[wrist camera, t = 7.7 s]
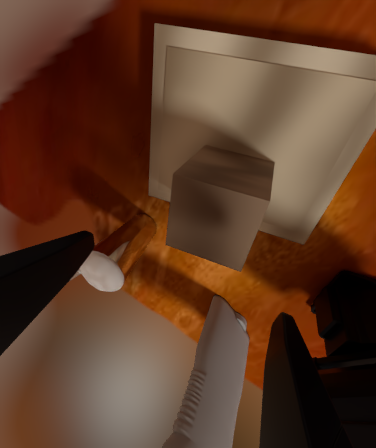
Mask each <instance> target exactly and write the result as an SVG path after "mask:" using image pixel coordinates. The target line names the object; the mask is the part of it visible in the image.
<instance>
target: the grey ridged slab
mask: <svg viewBox="0 0 376 448" xmlns="http://www.w3.org/2000/svg"><path fill="white" fill-rule="evenodd" d="M246 326H247V322H246V320H245V319H244V317H243V316H241V315H240V314H238V313H236V312H235V311H234V309H233V308H232V307H231V306H230V305H229V303H228V302H227V301H226V300H225V299H224V298H222V297H221V296H218V295H215V296H213V299H212V302H211V305H210V308H209V311H208V314H207V317H206V320H205V324H204V327H203V330H202V333H201V336H200V339H199V342H198V345H197V350H196V356H195V363H194V368H193V370H192V371H191V376H190V379H189V381H188V383H189V384H188V386H187V390H186V391H185V393H186V394H184V399H183V400H182V406H181V407H180V412H178V414H177V417H178V418H177V419H176V420H175V422H174V425H173V433H172V435H171V436H170V437H169V438H168V439H167V440H166V442H165V443H164V444H163V446H162V448H232V443H233V434H234V428H235V422H236V417H237V410H238V406H239V402H240V398H241V394H242V387H243V380H244V374H245V366H246V359H247V352H248V345H249V336H248V334H247V331H246Z"/></svg>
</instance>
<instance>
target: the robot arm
mask: <svg viewBox="0 0 376 448" xmlns="http://www.w3.org/2000/svg"><path fill="white" fill-rule="evenodd" d="M94 246H95V245H94V236H93V234H92V233H91V232H88V231H81V232H77V233H74V234H71V235H68V236H65V237H61V238H58V239H55V240H51V241H48V242H45V243H41V244H39V245H35V246H32V247H28V248H25V249H22V250H18V251H15V252H12V253H9V254H5V255H2V256H0V356H1V355H2V353H3V352H4V351H5V350H6V349H7V348H8V347H9V346H10V345H11V344H12V342H13V341H14V340H15V339H16V338H17V337H18V336H19V335H20V334H21V333H22V332H23V331H24V329H25V328H26V327H27V326H28V325H29V324H30V323H31V322H32V321H33V320H34V318H36V316H37V315H38V314H39V313H40V312H41V311H42V310H43V309H44V308H45V307H46V305H47V304H48V303H49V302H50V301H51V300H52V299H53V298H54V297H55V296H56V294H58V292H59V291H60V290H61V289H62V288H63V287H64V286H65V285H66V284H67V283H68V282H69V281H70V279H71V278H72V277H73V276H74V275H75V274H76V272H77V271H78V270H79V268H80V267H81V266H82V264H83V263H84V262H85V260H86V259H87V258H88V256H89V255H90V254H91V252H92V251H93V249H94ZM345 275H346V276H345ZM311 312H312V313H314V314H316V319H317V326H318V334H319V336H320V337H321V338H323V339H324V342H325V349H326V355H327V357H322V358H317V357H314V358H312V357H311V355H310V353H309V351H308V349H307V346H306V344H305V342H304V340H303V338H302V336H301V333H300V331H299V329H298V327H297V325H296V323H295V320H294V318H293V317H292V316H291V315H289V314H287V313H284V312H281V313H280V314H279V315H278V317H277V318H276V319H275V321H274V322H273V324H272V327H271V333H270V338H269V344H268V349H267V354H266V360H265V369H264V383H263V399H262V415H261V430H260V447H259V448H376V280H374V279H371V278H368V277H365V276H362V275H359V274H356V273H353V272H350V271H346V270H344V271H340V272H339V273H338V274H337V276H336V277H335V278H334V279H333V280H332V282H331V283H330V284H329V285H327V286H326V287H325V288H324V289H323V290H322V292H321V293H320V294H319V295H318V296H317V298H316V299H315V300H314V303H313V305H312V306H311Z"/></svg>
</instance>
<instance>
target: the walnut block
mask: <svg viewBox="0 0 376 448" xmlns="http://www.w3.org/2000/svg"><path fill="white" fill-rule="evenodd" d="M274 165H275V162H272V161H268V160H264V159H260V158H256V157H252V156H248V155H244V154H240V153H236V152H232V151H228V150H224V149H220V148H216V147H212V146H208V145H205V146H204V147H203V148H201V149H200V150H199V151H198V152H197V153H196V154H195V155H193V156H192V157H191V158H190V159H189V160H188V161H187V162H186V163H184V164H183V165H182V166H181V167H180V168H179V169H178V170H176V171H175V172H174V173H173V178H172V188H171V198H170V208H169V218H168V228H167V237H166V245H168V246H171V247H173V248H176V249H179V250H182V251H184V252H187V253H190V254H193V255H196V256H198V257H201V258H204V259H207V260H209V261H212V262H215V263H218V264H220V265H223V266H226V267H229V268H232V269H234V270H237V271H240V272H241V270H242V268H243V265H244V263H245V260H246V258H247V256H248V253H249V251H250V249H251V246H252V244H253V241H254V239H255V237H256V234H257V232H258V229H259V227H260V225H261V222H262V220H263V217H264V215H265V213H266V210H267V208H268V206H269V203H270V199H271V191H272V182H273V173H274Z"/></svg>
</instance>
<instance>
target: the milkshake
mask: <svg viewBox="0 0 376 448" xmlns="http://www.w3.org/2000/svg"><path fill="white" fill-rule="evenodd" d="M156 230H157V225H156V224H155V222H154V221H153V219H152V218H151V217H149V216H147V215H146V214H136V215H135V216H134V217H132V218H131V219H130V220H128V221H127V222H126V223H125V224H123V225H122V226H121V227H119V228H118V229H117V230H115V231H114V232H113V233H112V234H110V235H109V236H107V237H106V238H105V239H103V240H102V241H100V242H99V243H98V244H96V245H95V246H94V249H93V251H92V252H91V254H90V255H89V256H88V258H87V259H86V260H85V262H84V263H83V264H82V266H81V267H80V269H79V270H78V271H77V272H76V274H75V275H74V276H73V277H72V278H71V279H70V280H72V279H73V278H75V277H76V276H78V275H80V274H81V273H82V275H83V276H84V277H85V279H86V280H87V282H88V283H89V284H91V285H92V286H94V287H95V288H97V289H98V290H101V291H109V292H113V291H117V290H119V289H120V288H121V287H122V285H123V284H124V282H125V280H126V279H127V277H128V276H129V274H130V272H131V271H132V269H133V267H134V266H135V264H136V263H137V261H138V260H139V258H140V257H141V255H142V254H143V252H144V251H145V249H146V248H147V246H148V245H149V243H150V242H151V240H152V239H153V237H154V236H155V234H156Z"/></svg>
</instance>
